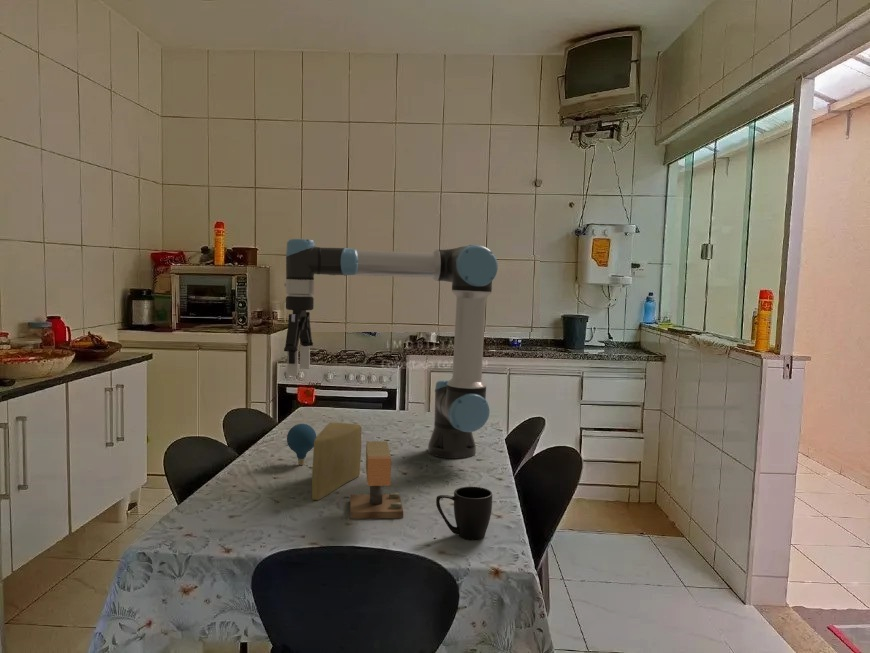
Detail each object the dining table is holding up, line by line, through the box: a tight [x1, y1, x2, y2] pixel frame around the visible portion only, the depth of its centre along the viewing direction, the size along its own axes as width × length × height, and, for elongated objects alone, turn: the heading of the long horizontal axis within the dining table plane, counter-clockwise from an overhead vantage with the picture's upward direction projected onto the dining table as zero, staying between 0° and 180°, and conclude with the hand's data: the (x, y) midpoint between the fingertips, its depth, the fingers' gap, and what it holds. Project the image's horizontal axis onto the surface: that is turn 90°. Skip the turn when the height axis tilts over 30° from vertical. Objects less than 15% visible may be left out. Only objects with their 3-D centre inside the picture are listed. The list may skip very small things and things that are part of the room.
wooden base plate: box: [349, 486, 404, 520], centre depth 155 cm, size 12×12×6 cm
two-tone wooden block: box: [365, 440, 392, 487], centre depth 150 cm, size 15×5×9 cm, turn 7°
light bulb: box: [286, 423, 317, 466], centre depth 189 cm, size 8×8×12 cm
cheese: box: [311, 422, 362, 501], centre depth 170 cm, size 22×10×15 cm, turn 169°
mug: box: [435, 486, 493, 542], centre depth 141 cm, size 8×12×10 cm
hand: (298, 372), depth 182 cm, fingers open, 13 cm apart
